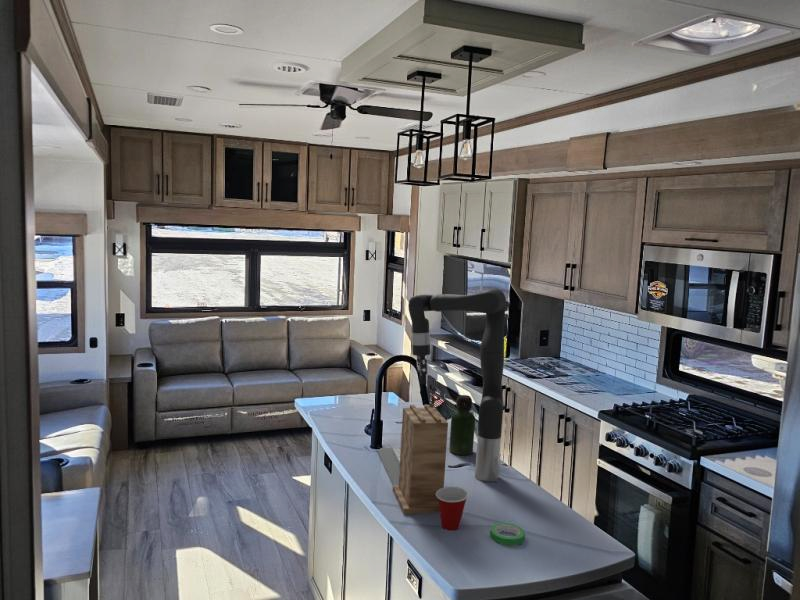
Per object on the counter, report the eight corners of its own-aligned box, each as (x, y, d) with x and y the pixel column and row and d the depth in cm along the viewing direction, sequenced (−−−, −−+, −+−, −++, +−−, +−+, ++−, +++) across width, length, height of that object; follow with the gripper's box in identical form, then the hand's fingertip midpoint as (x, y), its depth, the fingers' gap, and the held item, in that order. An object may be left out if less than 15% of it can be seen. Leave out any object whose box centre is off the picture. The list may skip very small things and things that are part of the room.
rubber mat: (375, 449, 289) (376, 448, 289) (407, 448, 292) (407, 447, 292) (394, 489, 248) (394, 487, 248) (430, 488, 251) (430, 486, 251)
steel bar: (392, 455, 281) (392, 448, 281) (399, 454, 282) (399, 448, 282) (405, 481, 254) (406, 473, 254) (413, 481, 255) (413, 473, 254)
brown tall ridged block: (392, 490, 247) (397, 403, 243) (433, 489, 250) (439, 403, 246) (403, 514, 227) (409, 420, 223) (448, 512, 231) (454, 420, 227)
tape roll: (501, 548, 208) (502, 540, 208) (483, 532, 218) (484, 525, 218) (531, 543, 212) (531, 535, 212) (512, 528, 222) (512, 520, 222)
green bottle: (466, 446, 298) (470, 393, 295) (476, 455, 289) (480, 399, 286) (445, 448, 295) (449, 393, 292) (454, 456, 285) (458, 400, 282)
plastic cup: (427, 521, 223) (430, 487, 221) (456, 517, 227) (458, 484, 226) (442, 536, 213) (444, 501, 211) (471, 532, 217) (474, 497, 216)
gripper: (432, 345, 266) (433, 385, 267) (428, 340, 280) (429, 378, 281) (413, 346, 265) (415, 386, 266) (410, 341, 280) (411, 379, 281)
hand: (422, 382), depth 274 cm, fingers open, 8 cm apart
